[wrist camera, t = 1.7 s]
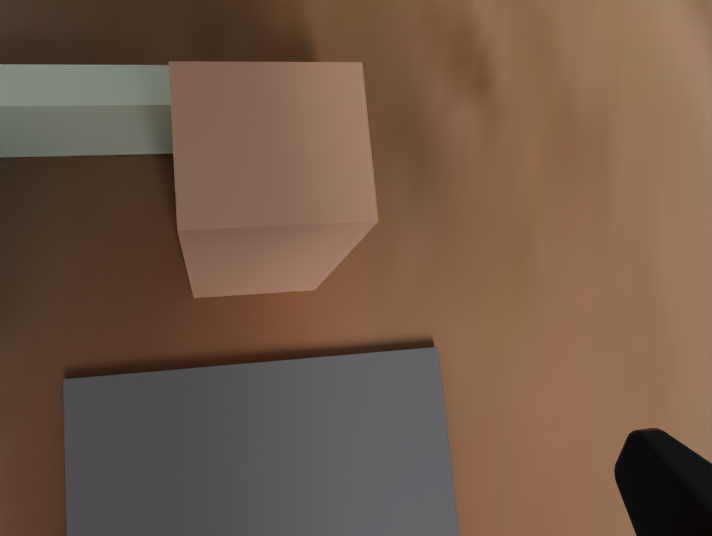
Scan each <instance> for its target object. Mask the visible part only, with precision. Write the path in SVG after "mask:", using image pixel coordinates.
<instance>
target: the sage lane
mask: <svg viewBox="0 0 712 536" xmlns="http://www.w3.org/2000/svg"><path fill="white" fill-rule="evenodd" d="M135 154H173V138H172V119H171V100H170V80H169V65H33V64H0V157H44V156H90V155H135Z"/></svg>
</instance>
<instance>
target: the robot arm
mask: <svg viewBox="0 0 712 536" xmlns="http://www.w3.org/2000/svg"><path fill="white" fill-rule="evenodd" d="M614 472H615V480H616V483H617V486H618V489H619V491H620V494H621V496H622V499H623V502H624V504H625V507H626V509H627V512H628V515H629V517H630V520H631V522H632V525H633V528H634V530H635V533H636V535H637V536H712V463H710V462H709V461H707V460H706V459H704V458H703V457H701V456H700V455H698V454H697V453H695V452H694V451H692V450H691V449H690V448H688V447H687V446H685V445H684V444H682V443H681V442H679V441H678V440H676V439H675V438H673V437H672V436H670V435H669V434H667V433H666V432H664V431H662V430H660V429H657V428H649V429H641V430H634V431H632V432H631V433H630V434H629V435H628V437H627V439H626V441H625V444H624V446H623V448H622V450H621V453H620V455H619V457H618V459H617V462H616V464H615V470H614Z"/></svg>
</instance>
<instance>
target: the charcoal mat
mask: <svg viewBox="0 0 712 536" xmlns="http://www.w3.org/2000/svg"><path fill="white" fill-rule="evenodd" d="M63 400H64V444H65V487H66V531H67V536H459V529H458V521H457V512H456V503H455V494H454V485H453V476H452V468H451V459H450V450H449V441H448V432H447V423H446V415H445V406H444V397H443V388H442V379H441V371H440V362H439V353H438V347H431V348H420V349H408V350H396V351H385V352H373V353H362V354H350V355H338V356H327V357H315V358H304V359H292V360H281V361H269V362H257V363H246V364H234V365H223V366H211V367H200V368H188V369H176V370H165V371H153V372H142V373H130V374H118V375H107V376H95V377H84V378H72V379H63Z"/></svg>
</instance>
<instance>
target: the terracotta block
mask: <svg viewBox="0 0 712 536" xmlns="http://www.w3.org/2000/svg"><path fill="white" fill-rule="evenodd" d="M169 80H170V100H171V119H172V138H173V157H174V177H175V196H176V215H177V231H178V235H179V240H180V244H181V248H182V252H183V256H184V260H185V264H186V269H187V273H188V277H189V281H190V285H191V289H192V293H193V297H194V298H205V297H220V296H235V295H250V294H266V293H281V292H296V291H312V290H315V289H316V288H317V287H318V286H319V285H320V284H321V283H322V282H323V281H324V280H325V279H326V278H327V276H328V275H329V274H330V273H331V272H332V271H333V270H334V269H335V268H336V267H337V266H338V265H339V263H340V262H341V261H342V260H343V259H344V258H345V257H346V256H347V255H348V254H349V253H350V252H351V250H352V249H353V248H354V247H355V246H356V245H357V244H358V243H359V242H360V241H361V240H362V239H363V238H364V236H365V235H366V234H367V233H368V232H369V231H370V230H371V229H372V228H373V227H374V226H375V225H376V223H377V222H378V213H377V203H376V193H375V184H374V174H373V164H372V154H371V144H370V135H369V125H368V115H367V105H366V95H365V86H364V76H363V66H362V62H199V61H169Z"/></svg>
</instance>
